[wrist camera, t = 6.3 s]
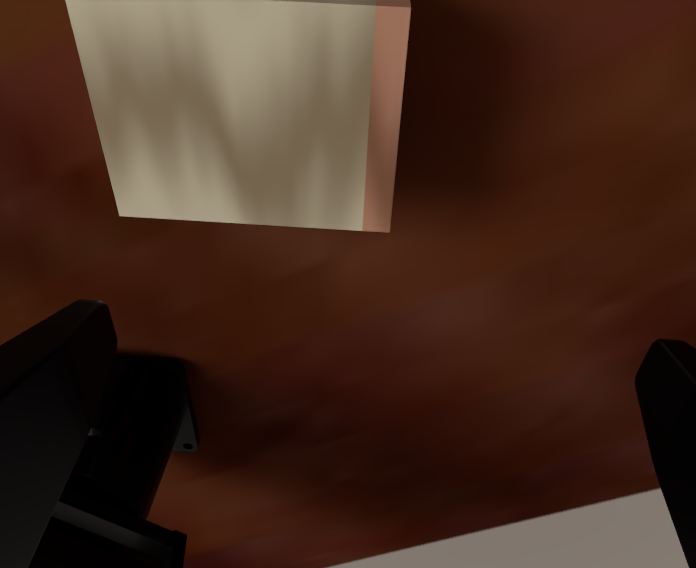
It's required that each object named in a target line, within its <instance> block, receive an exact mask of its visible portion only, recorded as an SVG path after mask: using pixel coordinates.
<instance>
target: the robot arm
mask: <svg viewBox="0 0 696 568" xmlns="http://www.w3.org/2000/svg"><path fill="white" fill-rule="evenodd" d="M116 349H117V336H116V332H115V329H114V325H113V322H112V318H111V315H110V311H109V308H108V306H107V304H106V303H105V302H103V301H100V300H86V299H82V300H77V301H75V302H73V303H72V304H70V305H68V306H67V307H65V308H63V309H62V310H60V311H58V312H56V313H55V314H53V315H51V316H50V317H48V318H46V319H45V320H43V321H41V322H39V323H38V324H36V325H34V326H33V327H31V328H29V329H28V330H26V331H24V332H22V333H21V334H19V335H17V336H16V337H14V338H12V339H11V340H9V341H7V342H5V343H4V344H2V345H0V568H183V562H184V555H185V547H186V540H187V535H186V534H184V533H182V532H179V531H177V530H174V531H171V530H168V529H166V528H164V527H161V526H159V525H157V524H154V523H152V522H149V521H147V520H146V519H147V517H148V514H149V511H150V509H151V506H152V503H153V500H154V498H155V495H156V492H157V489H158V487H159V484H160V481H161V479H162V476H163V473H164V470H165V468H166V465H167V462H168V460H169V457H170V454H171V451H180V452H194V451H196V450H197V449H198V446H199V442H200V440H199V435H198V430H197V426H196V421H195V416H194V412H193V407H192V402H191V398H190V393H189V389H188V384H187V379H186V375H185V370H184V366H183V364H182V363H181V362H180V361H178V360H176V359H169V358H154V357H138V356H123V355H115V353H116ZM171 369H173V370H171ZM635 387H636V392H637V397H638V401H639V405H640V410H641V414H642V418H643V422H644V427H645V431H646V435H647V440H648V444H649V448H650V453H651V457H652V461H653V465H654V468H655V472H656V475H657V478H658V481H659V484H660V487H661V490H662V493H663V496H664V498H665V501H666V504H667V507H668V510H669V512H670V515H671V518H672V521H673V523H674V526H675V529H676V532H677V535H678V538H679V541H680V543H681V546H682V549H683V552H684V555H685V557H686V560H687V563H688V566H689V568H696V349H695V348H694V347H692V346H691V345H689V344H688V343H686V342H685V341H682V340H672V339H658V340H655V341H654V342H653V343H652V345H651V346H650V348H649V350H648V352H647V354H646V356H645V358H644V360H643V362H642V364H641V366H640V368H639V369H638V371H637V374H636V378H635Z"/></svg>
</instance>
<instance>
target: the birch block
mask: <svg viewBox="0 0 696 568" xmlns="http://www.w3.org/2000/svg"><path fill="white" fill-rule="evenodd" d="M65 1H66V5H67V9H68V13H69V17H70V21H71V25H72V29H73V32H74V36H75V40H76V44H77V48H78V52H79V56H80V60H81V64H82V68H83V72H84V76H85V80H86V84H87V88H88V92H89V96H90V100H91V104H92V108H93V112H94V116H95V120H96V124H97V128H98V132H99V136H100V140H101V144H102V148H103V152H104V156H105V160H106V164H107V168H108V172H109V176H110V180H111V184H112V188H113V192H114V196H115V200H116V204H117V208H118V212H119V216H128V217H144V218H160V219H177V220H193V221H209V222H226V223H242V224H258V225H275V226H291V227H307V228H324V229H340V230H356V231H373V232H389V233H390V223H391V213H392V202H393V192H394V181H395V171H396V161H397V150H398V140H399V129H400V119H401V108H402V98H403V87H404V77H405V66H406V56H407V45H408V35H409V24H410V14H411V3H410V0H65Z"/></svg>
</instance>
